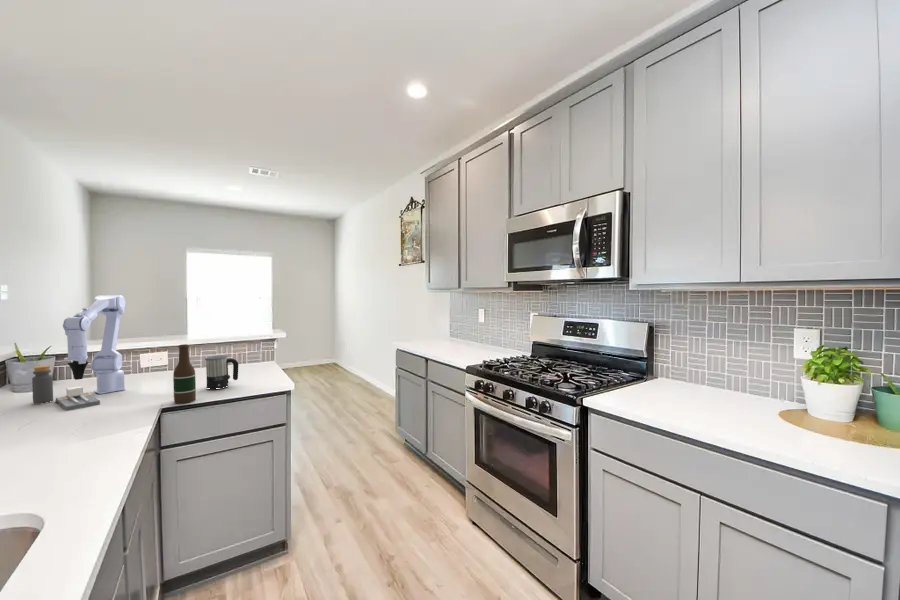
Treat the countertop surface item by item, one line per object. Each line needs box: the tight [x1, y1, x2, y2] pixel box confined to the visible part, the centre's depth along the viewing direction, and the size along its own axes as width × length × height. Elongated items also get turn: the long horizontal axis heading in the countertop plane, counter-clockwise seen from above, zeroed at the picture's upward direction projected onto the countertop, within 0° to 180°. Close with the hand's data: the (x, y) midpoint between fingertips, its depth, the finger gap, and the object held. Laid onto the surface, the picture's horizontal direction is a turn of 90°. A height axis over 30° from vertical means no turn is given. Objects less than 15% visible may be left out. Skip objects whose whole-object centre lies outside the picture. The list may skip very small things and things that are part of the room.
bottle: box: [31, 364, 54, 405], centre depth 163 cm, size 6×6×15 cm
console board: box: [55, 392, 101, 411], centre depth 163 cm, size 10×19×2 cm, turn 54°
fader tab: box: [65, 385, 84, 397], centre depth 165 cm, size 4×4×4 cm
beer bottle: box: [172, 344, 197, 405], centre depth 165 cm, size 8×8×24 cm
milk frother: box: [204, 355, 239, 389], centre depth 191 cm, size 14×16×15 cm
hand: (78, 379), depth 161 cm, fingers closed
